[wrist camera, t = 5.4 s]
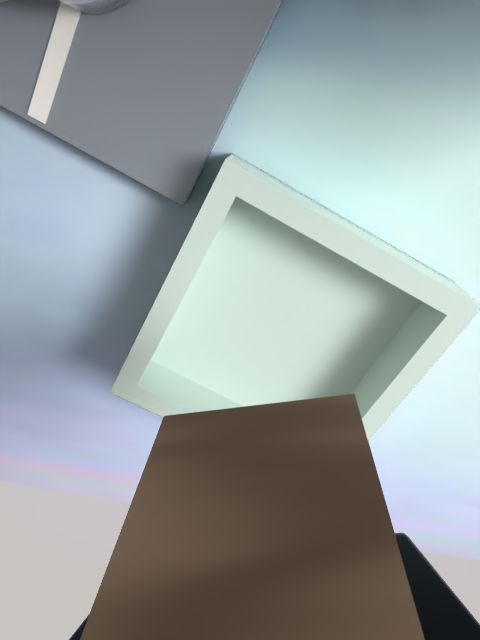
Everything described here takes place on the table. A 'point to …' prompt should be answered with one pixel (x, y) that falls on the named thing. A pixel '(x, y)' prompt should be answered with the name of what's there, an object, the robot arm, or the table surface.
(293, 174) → the table surface
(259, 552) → the brown block
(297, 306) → the tray
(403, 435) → the table surface
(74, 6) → the crank
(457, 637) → the robot arm
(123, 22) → the crank base
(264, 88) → the table surface
